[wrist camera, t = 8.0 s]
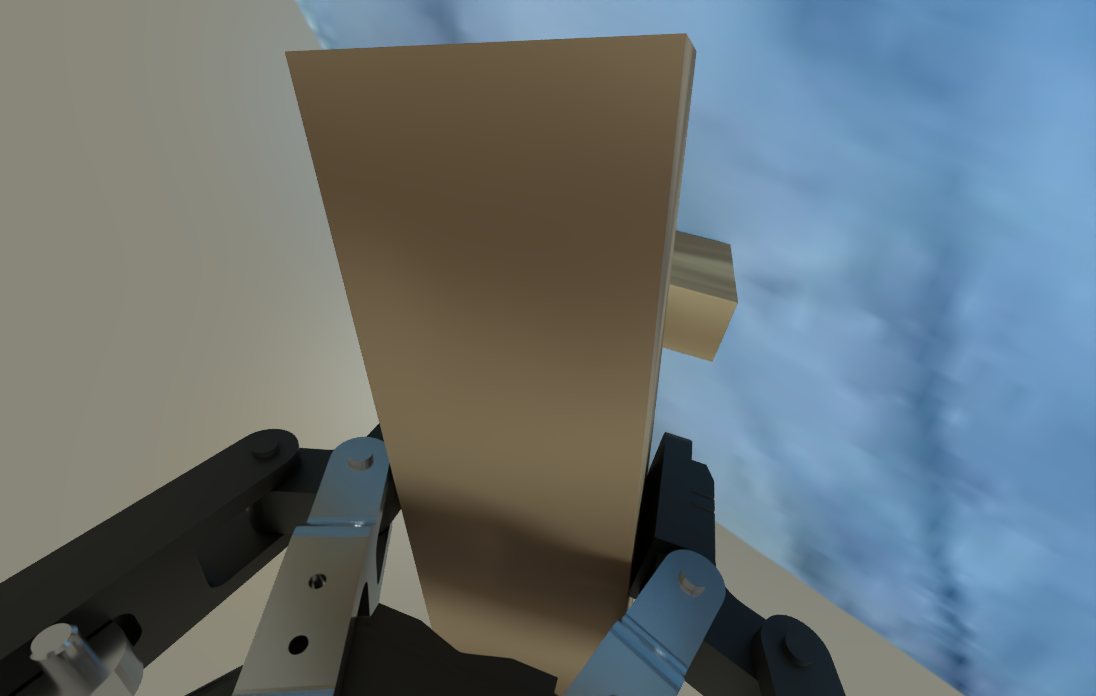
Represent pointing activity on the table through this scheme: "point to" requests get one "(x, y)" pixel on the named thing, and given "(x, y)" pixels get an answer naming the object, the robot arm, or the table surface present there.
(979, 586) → the table surface
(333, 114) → the batten
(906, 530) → the table surface
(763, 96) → the table surface
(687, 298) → the fulcrum
